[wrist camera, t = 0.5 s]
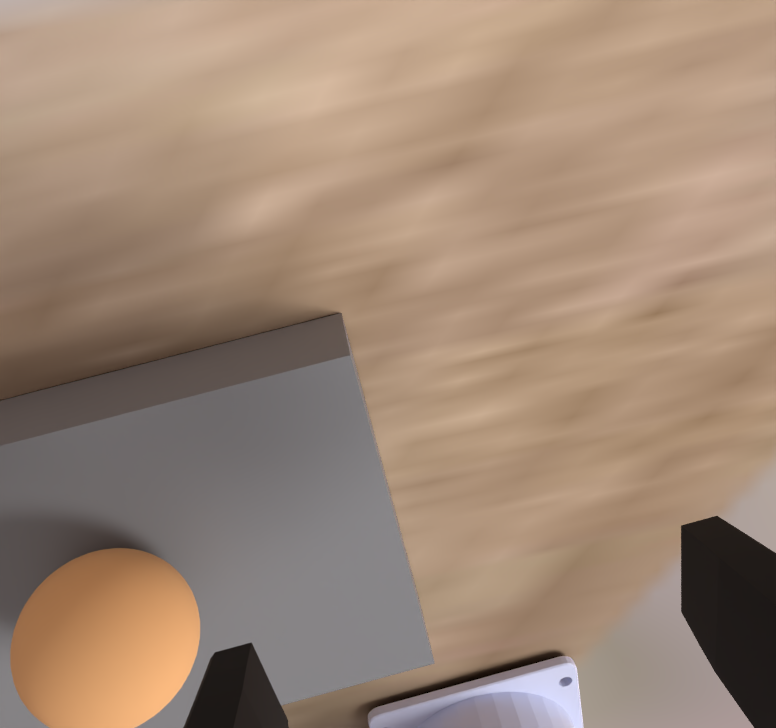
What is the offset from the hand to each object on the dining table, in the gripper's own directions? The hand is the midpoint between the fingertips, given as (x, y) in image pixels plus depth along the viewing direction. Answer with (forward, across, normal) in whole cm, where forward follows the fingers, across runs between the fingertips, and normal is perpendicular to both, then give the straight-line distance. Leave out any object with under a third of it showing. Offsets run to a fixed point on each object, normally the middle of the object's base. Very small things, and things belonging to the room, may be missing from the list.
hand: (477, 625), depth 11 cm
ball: (+4, +8, +2) cm, 9 cm away
